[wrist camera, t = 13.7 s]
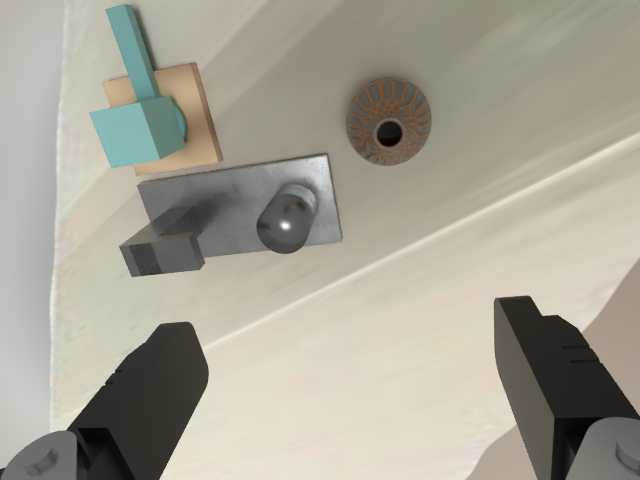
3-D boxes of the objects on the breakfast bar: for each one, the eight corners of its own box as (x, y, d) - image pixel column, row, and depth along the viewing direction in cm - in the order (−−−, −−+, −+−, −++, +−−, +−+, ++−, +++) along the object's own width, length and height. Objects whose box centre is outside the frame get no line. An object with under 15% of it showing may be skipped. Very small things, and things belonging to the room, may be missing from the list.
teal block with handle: (149, 1, 34) (105, -9, 29) (194, 146, 39) (164, 162, 34) (96, 14, 35) (43, 8, 30) (146, 155, 40) (109, 172, 35)
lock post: (141, 182, 43) (79, 217, 34) (327, 153, 39) (312, 184, 30) (169, 257, 47) (119, 307, 38) (342, 238, 43) (332, 288, 34)
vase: (361, 162, 39) (356, 191, 31) (339, 89, 37) (329, 101, 29) (433, 141, 37) (448, 166, 30) (416, 63, 35) (427, 68, 27)
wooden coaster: (109, 81, 39) (101, 82, 38) (195, 63, 37) (190, 63, 36) (142, 172, 43) (136, 175, 41) (222, 159, 41) (218, 162, 40)
